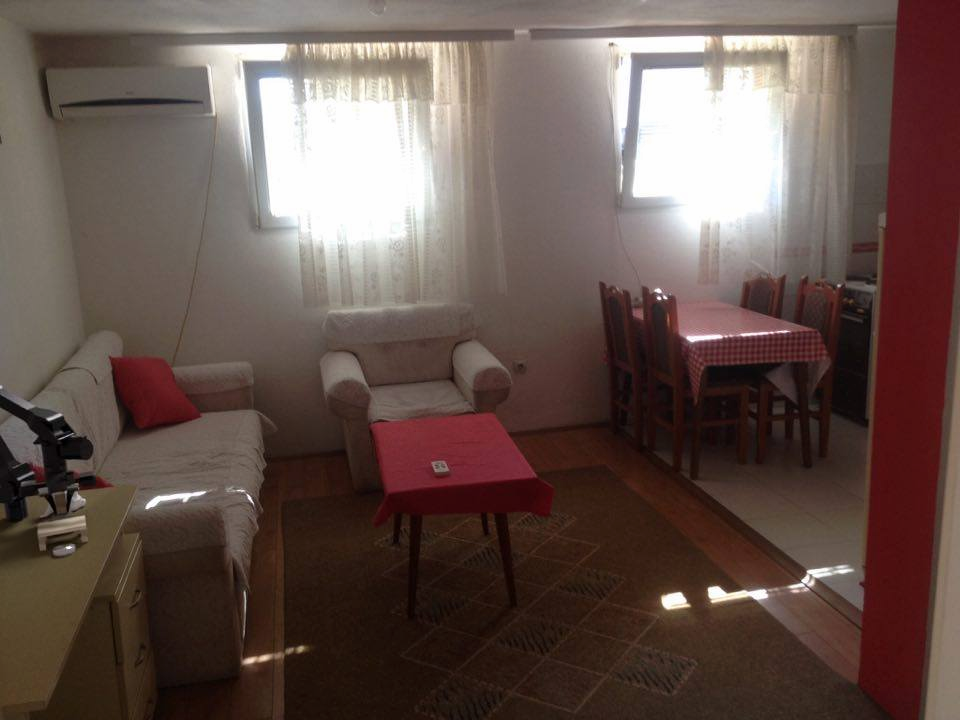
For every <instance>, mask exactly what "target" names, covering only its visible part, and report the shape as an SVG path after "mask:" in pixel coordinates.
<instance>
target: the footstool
mask: <svg viewBox="0 0 960 720" xmlns="http://www.w3.org/2000/svg"><path fill="white" fill-rule="evenodd" d="M72 531H74V532H77V531H80V537H81V543H82V544H83V543H87V542H89V538H88V529H87V522H86V515H85V514H84V515H78V516H73V517H72V518H67V519H61V520H56V521H51V520H50V521H45V522H40V523H37V540H38V547H39V551H40V552H42V551H43V552H44V551H47V543H46V542H47V537H50V536H52V535H53V536H57V535H56V534H58V535H62V534H61V533H64V534H68V533H67V532H69V533H73V532H72Z"/></svg>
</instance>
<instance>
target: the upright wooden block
mask: <svg viewBox="0 0 960 720" xmlns="http://www.w3.org/2000/svg"><path fill="white" fill-rule="evenodd" d="M54 496H55V503H56V510H57V514H56V515H55V514H52V515H51V517H50V518H51V520H50V522H51V521H56V520H61V519H67V518H72V517H74V515H73V514H74V513H73V511H70V512H68V513H67V509H66V498H65V492H57V493H54ZM74 532H75V531H72V532H71V533H74ZM68 533H70V532H67V533H66V534H68ZM63 534H64V535H65V533H61V534H60V535H63ZM58 535H59V534H56V535H55V536H58ZM51 536H52V537H53V536H54V535H51Z"/></svg>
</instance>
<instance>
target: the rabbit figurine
mask: <svg viewBox="0 0 960 720" xmlns="http://www.w3.org/2000/svg"><path fill="white" fill-rule="evenodd" d="M78 493H79V492H78V491H75V492H74V494H73V497H72V499H71V504H70V509H69V512H73V511H76V510H78V509H80V508H82V507H83V506H85V504H86V502H87V500H86V499H85V498H82V495H79V494H78ZM53 497H54V501H55V496H54V494H53ZM65 498H67V491H65ZM55 504H56V503H55ZM52 513H54V511H53V509H52V508H51V506H50V504H49V503H48V506H47V508H46V511H45V512H44V514H43V515H40V517H39V518H45V517H48V516H50V515H51V514H52Z"/></svg>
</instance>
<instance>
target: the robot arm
mask: <svg viewBox="0 0 960 720" xmlns="http://www.w3.org/2000/svg"><path fill="white" fill-rule="evenodd" d="M0 409H2V410H4V411H6V413H9V414H10V415H12V416H14V417H16V418H18V419H19V420H21V421H23V422H24V423H25V424H26V425H27V427H28V429H29V430H30V431H31V432H32V433H34V434H35V435H36V436H37V438H36V439H35V440H34V441H33V442H32V444H33V445H36V446H37V445H39V446H40V448H41V449H40V450H41V454H42V456H41V457H42V464H43V469H44V482H43V481H42V482H36V481H37V479H36V476H35V474H36V472H34V471H33V470H32V468H31V466H30V463H28V461H25V462H23V463H22V462H20V461H18V460H17V459H16V458H15V456H14V454H13V453H12V452H11V450H10V448H9V446H8V444H7V443H6V442H5V440H4V439H3V437H2V435H1V434H0V504H2V505H3V511H4V516H5V520H6V521H7V522H10V523H14V522H20V521H23V520H25V519H26V518H27V517H29V515H30V514H29V508H28V500H27V497H33V496H34V495H35V494H36V492H37V491H38V497H39V498H44V499H45V500H46V501H47V503H48V505H49V504H50V506H51V508H52V509H53V511H54V512H53V514H54V515H56V514H57V510H56V504H55V501H54V497H53V494H54V493H57V492H65V491H67V498H66V509H67V513H68V512H69V509H70V504H71V499H72V497H73V494H74V492H75V491H77V492H79V490H80V487H79V485H80V486H81V487H83V488H87V487H88V488H89V487H94V486H96V485H97V482H96V481H97V480H96V473H95V472H94V471H93V470H91V471H84V472H78V476H75V472H74V471H69V468H68V461H90V459H91V458H92V456H93V455H94V450H95V446H94V445H93V443H92V441H91V440H90V439H88V435H86V434H81V435H77V433H76V432H75V430H74V429H73V428H72V427H71V425H70V424H69V423H68V422H67V420H66V419H65V416H64V415H63V414H61V413H60V412H57V411H55V410H52V409H48V408H42V407H38V406H36V405H34V404H33V403H30V402H29V401H27V400H25V399H24V398H22V397H20V396H18V395H16V394H15V393H13V392H10V391H9V390H7V389H5V388H4V387H3V385H1V384H0Z"/></svg>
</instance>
